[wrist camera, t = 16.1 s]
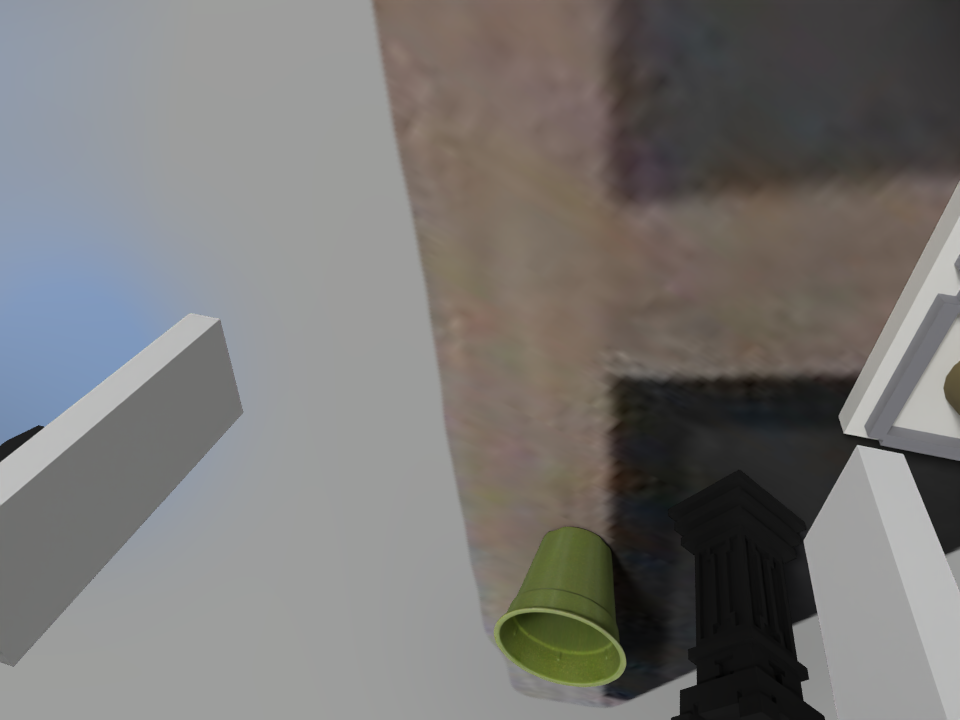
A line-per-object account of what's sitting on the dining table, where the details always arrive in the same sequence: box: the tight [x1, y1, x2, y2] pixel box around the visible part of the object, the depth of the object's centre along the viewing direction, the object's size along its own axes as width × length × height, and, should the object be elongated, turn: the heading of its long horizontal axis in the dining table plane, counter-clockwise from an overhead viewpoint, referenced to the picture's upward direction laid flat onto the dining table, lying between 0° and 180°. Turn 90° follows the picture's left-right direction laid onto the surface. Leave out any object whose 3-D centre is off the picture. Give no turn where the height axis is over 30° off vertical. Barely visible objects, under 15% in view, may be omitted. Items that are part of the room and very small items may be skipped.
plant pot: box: [494, 527, 626, 687], centre depth 59 cm, size 12×12×11 cm
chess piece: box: [668, 470, 825, 720], centre depth 47 cm, size 8×8×20 cm
